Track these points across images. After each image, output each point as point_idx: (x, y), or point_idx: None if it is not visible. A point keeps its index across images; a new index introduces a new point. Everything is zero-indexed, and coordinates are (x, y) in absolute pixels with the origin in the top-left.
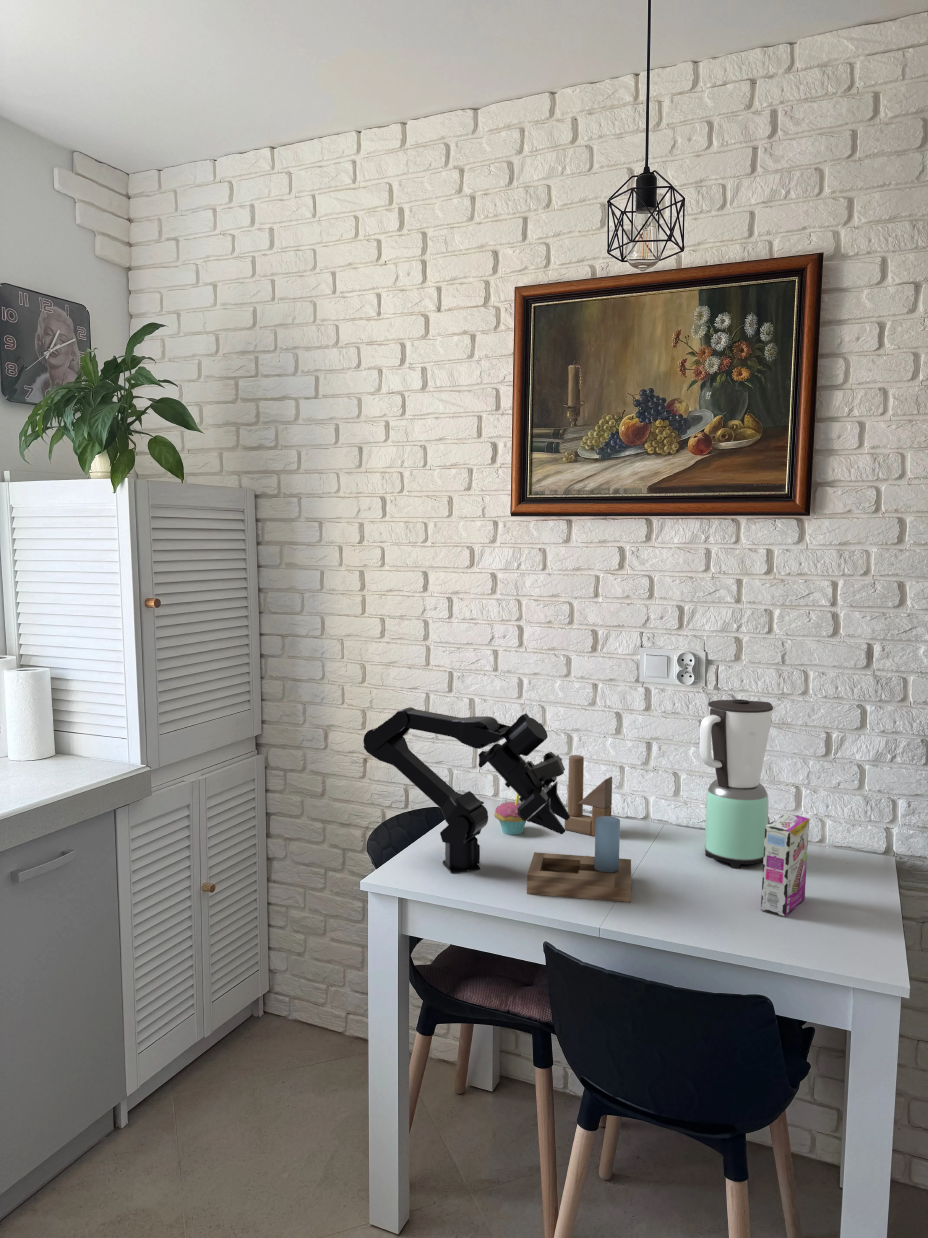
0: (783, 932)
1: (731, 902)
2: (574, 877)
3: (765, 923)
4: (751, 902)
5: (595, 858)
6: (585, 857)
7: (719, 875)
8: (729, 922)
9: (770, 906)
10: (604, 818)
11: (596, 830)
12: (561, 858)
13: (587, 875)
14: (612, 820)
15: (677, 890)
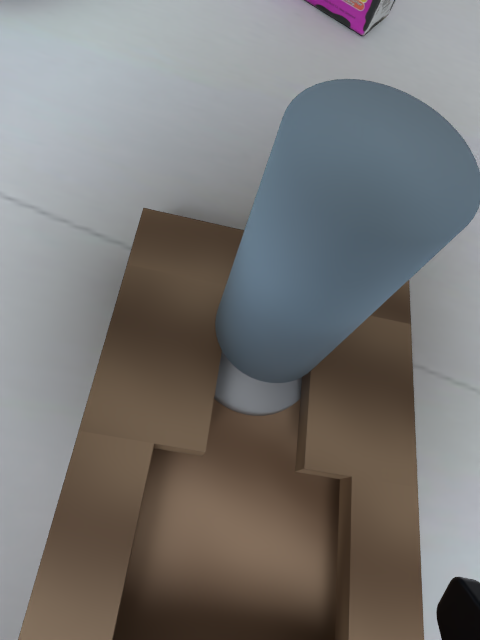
0: (458, 46)
1: (320, 68)
2: (405, 501)
3: (424, 55)
4: (313, 34)
5: (305, 364)
6: (111, 409)
7: (130, 24)
8: (439, 112)
9: (381, 11)
10: (355, 167)
11: (384, 287)
12: (121, 563)
13: (366, 430)
14: (389, 126)
15: (254, 151)
